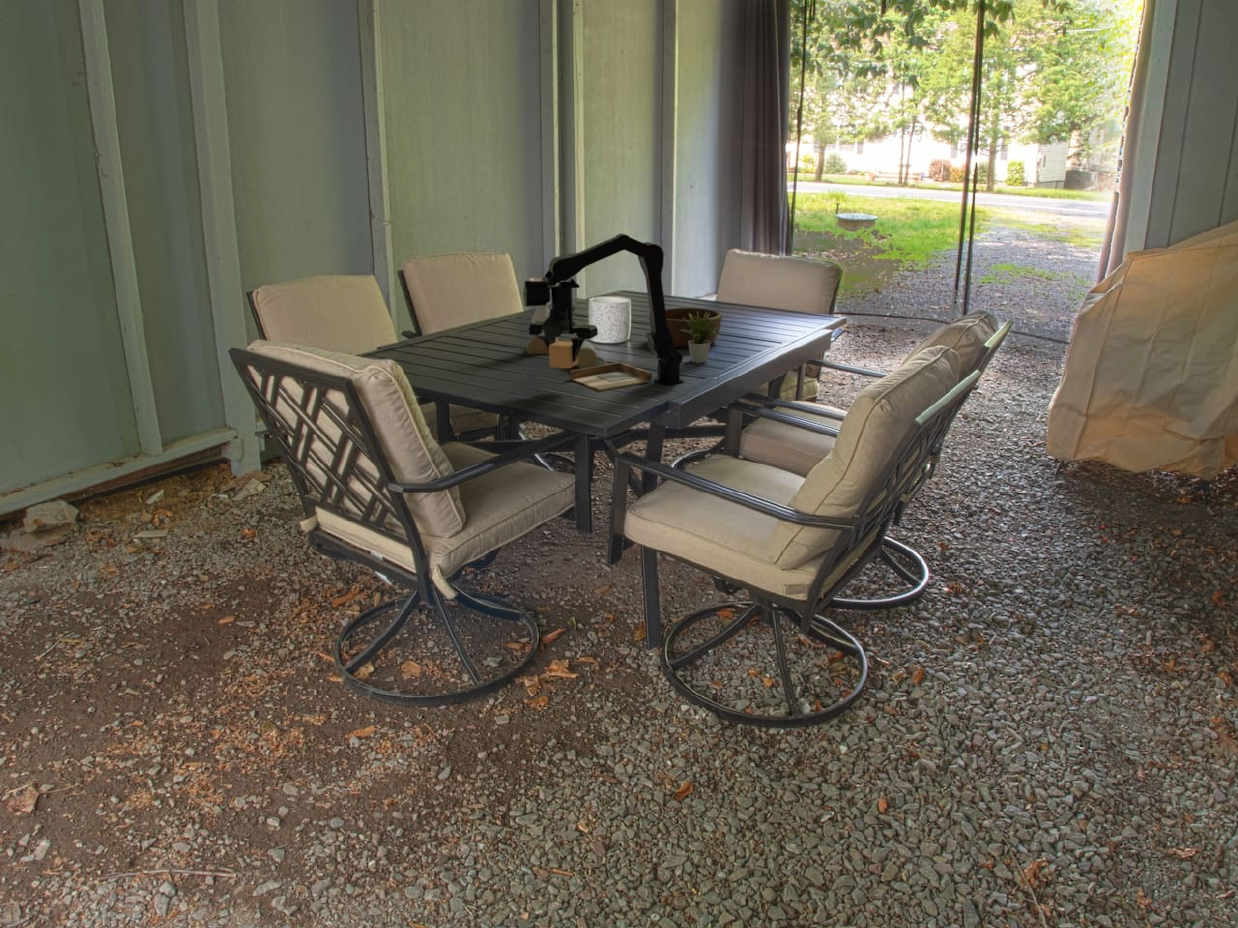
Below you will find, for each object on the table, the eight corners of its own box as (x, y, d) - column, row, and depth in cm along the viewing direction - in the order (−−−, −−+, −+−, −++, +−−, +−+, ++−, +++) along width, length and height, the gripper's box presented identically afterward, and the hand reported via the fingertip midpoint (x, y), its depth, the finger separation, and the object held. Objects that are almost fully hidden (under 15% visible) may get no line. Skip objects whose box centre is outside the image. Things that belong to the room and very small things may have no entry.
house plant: (720, 368, 268) (721, 315, 263) (675, 366, 271) (676, 314, 266) (724, 357, 282) (725, 307, 276) (681, 356, 284) (682, 306, 279)
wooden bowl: (732, 340, 308) (733, 311, 304) (700, 353, 288) (701, 322, 284) (670, 333, 320) (671, 305, 317) (635, 345, 300) (635, 316, 297)
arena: (651, 381, 254) (651, 372, 253) (599, 391, 244) (599, 381, 243) (620, 371, 266) (620, 362, 265) (570, 379, 257) (569, 370, 256)
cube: (578, 363, 245) (577, 342, 243) (569, 368, 240) (568, 346, 238) (558, 361, 247) (558, 341, 245) (549, 366, 242) (548, 345, 240)
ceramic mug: (574, 371, 267) (574, 346, 264) (571, 364, 275) (570, 340, 272) (608, 369, 269) (608, 345, 266) (604, 363, 276) (604, 339, 274)
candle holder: (559, 354, 289) (556, 281, 281) (526, 354, 289) (522, 281, 281) (561, 346, 299) (559, 276, 291) (529, 347, 299) (526, 276, 291)
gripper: (517, 307, 234) (520, 364, 239) (581, 311, 228) (583, 369, 233) (536, 301, 244) (538, 355, 249) (598, 304, 237) (598, 360, 243)
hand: (563, 360), depth 243 cm, fingers closed on cube, 6 cm apart
